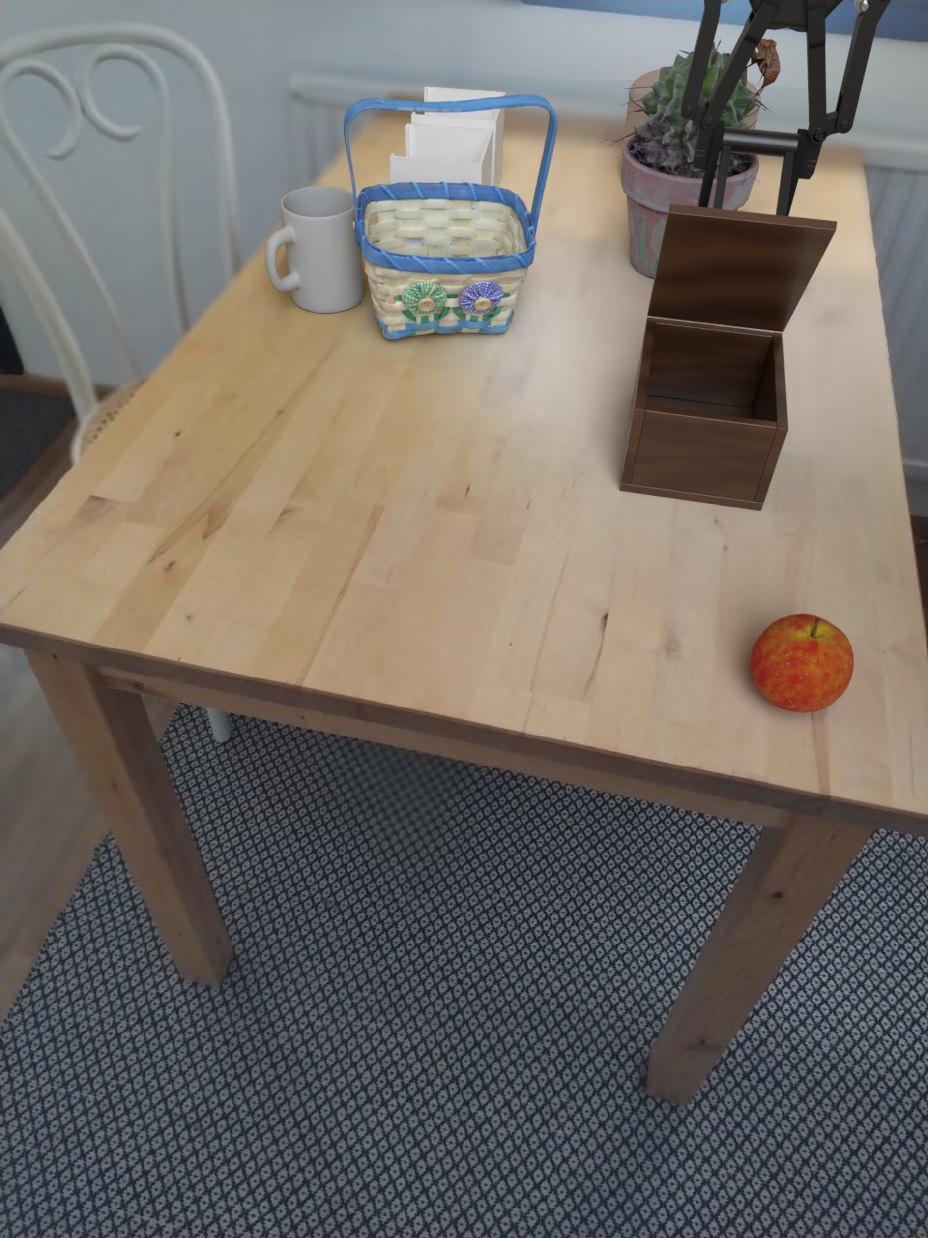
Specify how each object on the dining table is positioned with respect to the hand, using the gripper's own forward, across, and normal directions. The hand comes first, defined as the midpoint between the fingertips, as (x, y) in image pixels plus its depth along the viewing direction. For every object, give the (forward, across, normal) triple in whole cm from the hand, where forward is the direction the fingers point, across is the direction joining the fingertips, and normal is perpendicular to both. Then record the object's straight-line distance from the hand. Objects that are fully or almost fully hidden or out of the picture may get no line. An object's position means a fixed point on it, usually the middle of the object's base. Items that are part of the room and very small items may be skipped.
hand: (741, 210), depth 80 cm
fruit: (+20, -8, +36) cm, 42 cm away
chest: (+20, 0, +8) cm, 21 cm away
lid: (+4, 0, +5) cm, 6 cm away
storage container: (+20, +34, -40) cm, 56 cm away
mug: (+20, +44, -12) cm, 50 cm away
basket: (+20, +28, -10) cm, 36 cm away
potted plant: (+20, +5, -30) cm, 37 cm away
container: (+20, +4, -60) cm, 63 cm away
